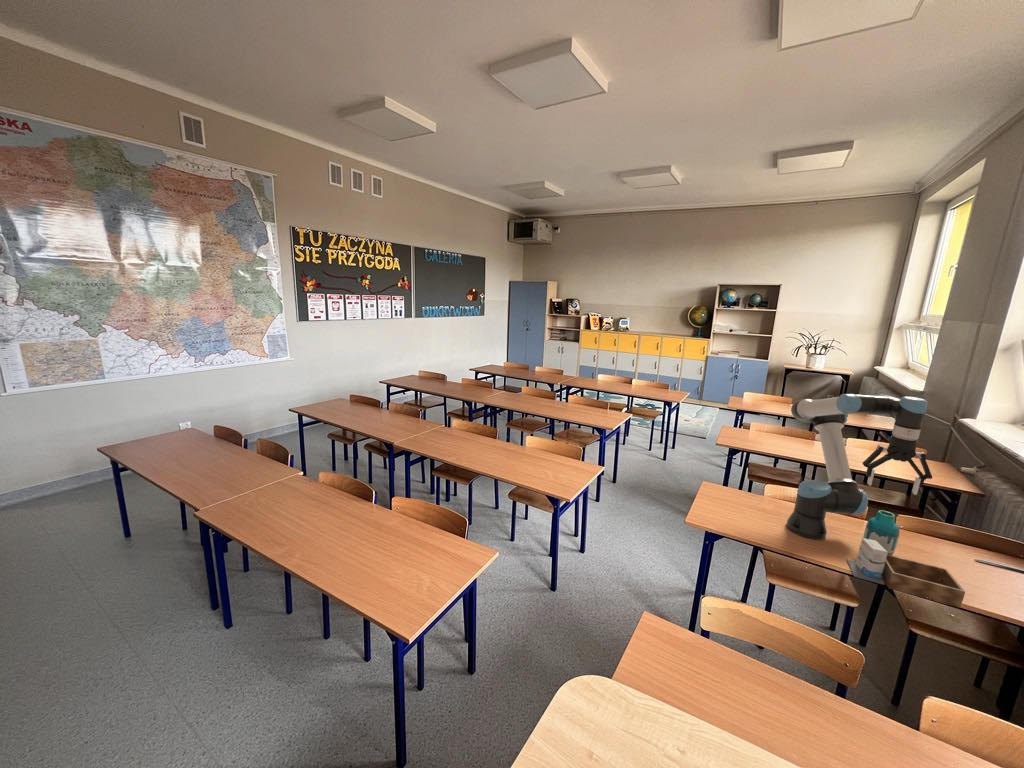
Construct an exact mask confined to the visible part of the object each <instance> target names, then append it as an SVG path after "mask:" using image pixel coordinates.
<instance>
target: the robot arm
mask: <svg viewBox="0 0 1024 768" xmlns="http://www.w3.org/2000/svg"><path fill="white" fill-rule="evenodd" d="M927 408H928V400H926V399H924V398H921V397H920V398H919V397H916V396H908V395H907V396H906V395H905V396H901V398H897V397H895V396H893V395H888V394H887V395H886V394H878V395H872V394H871V395H866V394H854V393H842V394H840V395H839V396H834V397H828V398H822V399H821V398H820V399H811V398H803V399H798V400H796V401H795V402H793V403H792V405H791V408H790V412H791V414H792V416H793V418H795V420H798V421H799V422H802V423H809V424H813V426H814V427H813V428H814V429H815V430H816V431H817V432H819V439H820V442H821V443H820V444H821V448H822V452H823V457H824V463H825V467H826V474H827V479H828V481H826V482H825V481H822V480H817V479H816V480H815V479H808V480H807V479H806V480H804V481H801V482H800V483H799V485H798V489H797V494H796V498H795V504H794V508H793V511H792V513H791V514H790V516H789V517H788V519H787V520H786V527H787V529H789V530H790V531H791V532H792V533H794V534H796V535H798V536H801V537H804V538H807V539H811V540H823V539H826V537H827V532H828V531H827V527H826V520H825V518H826V515H827V513H831V514H842V515H847V516H848V515H849V516H851V515H861V514H863V513H864V512H865V511H866V509H867V507H868V504H869V499H868V495H867V492H866V491H865V490H864V489H862V488H860V487H859V485H858V482H856V481H855V480H853V478H852V471H851V468H850V465H849V459H848V455H847V450H846V446H845V442H844V437H843V433H842V429H843V428H844V426H845V425H846V422H847V421H848V418H849V415H852V414H868V415H875V416H876V415H877V416H878V415H879V416H888V417H891V418H893V419H895V420H894V424H893V429H892V432H891V434H892V435H891V436H890V440H889V443H888V446H884V445H883V446H882V445H881V444H878V445H877V447H876V449H875V450H874V451H873V452H872V453H871V454H870V455H869V456H868V457H867V458H866V459H864V461H863V462H862V464H861V465H863V467H864V468H867V469H866V472H865V475H866V477H868V478H867V485H868V486H870V487H871V486H872V484H873V480H874V477H875V476H874V475H875V473H876V470H875V468H877V467H879V466H881V465H882V464H884V463H886V462H887V461H891V460H894V461H899V462H903V463H906V462H908V463H909V465H910V466H911V467H912V469H913V470H914V471H915V473H916V474H917V475H918V476H917V475H916V476H915V480H914V482H913V487H912V490H911V493H912V494H913V495H914V496H918V492H919V488H922V487H923V486H924V483H925V481H926V480H927V479H929V480H932V479H933V476H932V472H931V470H930V467H929V465H928V462H927V459H926V458H927V454H926V453H925V452H923V451H919V452H917V451H916V450H917V445H918V439H919V438H920V435H921V430H922V427H923V424H924V423H923V422H924V420H925V417H926V413H927ZM885 451H886V452H887V453H885V454H884V455H883V456H881V457H879V456H880V455H881V454H882V453H884V452H885ZM878 457H879V458H878ZM914 457H917V458H918V459H919V461H920V465H921V467H922V469H923V472H924V473H923V472H922V471H921V470H920V468H919V466H917V464H916V463H915V462H914V461H913V458H914Z"/></svg>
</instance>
